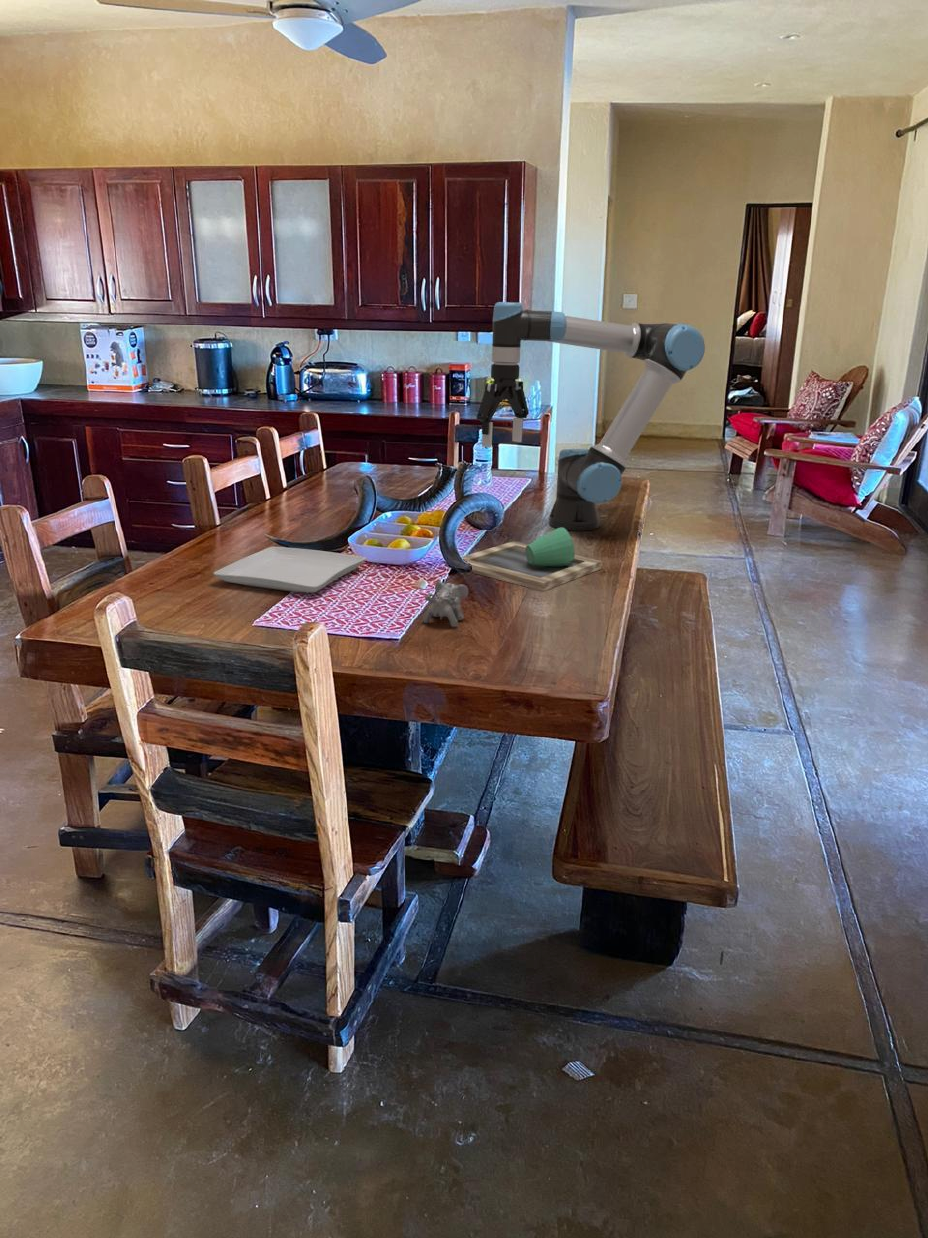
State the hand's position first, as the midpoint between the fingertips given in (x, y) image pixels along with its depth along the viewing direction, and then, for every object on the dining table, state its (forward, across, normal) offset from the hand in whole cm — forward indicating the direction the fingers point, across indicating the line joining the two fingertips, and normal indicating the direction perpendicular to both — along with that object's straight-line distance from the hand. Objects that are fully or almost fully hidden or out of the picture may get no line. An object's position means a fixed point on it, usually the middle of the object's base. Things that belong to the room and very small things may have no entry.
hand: (502, 444), depth 245 cm
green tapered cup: (+23, +19, +23) cm, 38 cm away
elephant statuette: (+27, +61, +33) cm, 74 cm away
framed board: (+27, +18, +23) cm, 40 cm away
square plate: (+27, +64, -13) cm, 71 cm away
